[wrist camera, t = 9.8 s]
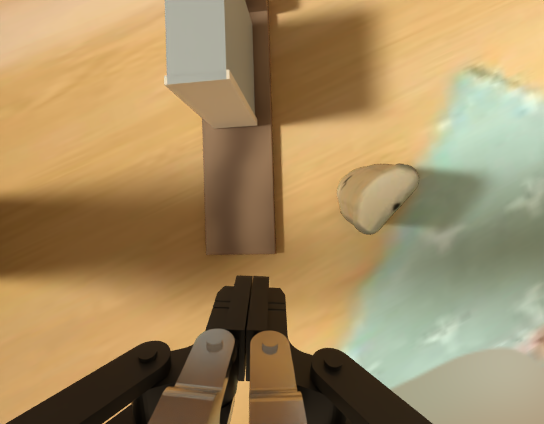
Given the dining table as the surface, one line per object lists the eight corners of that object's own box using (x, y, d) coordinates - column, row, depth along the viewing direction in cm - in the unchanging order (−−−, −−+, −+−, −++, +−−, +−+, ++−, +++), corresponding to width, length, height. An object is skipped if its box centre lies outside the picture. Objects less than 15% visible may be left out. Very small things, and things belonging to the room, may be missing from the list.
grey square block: (214, 128, 29) (164, 84, 19) (211, 28, 29) (160, -67, 19) (257, 125, 28) (229, 78, 18) (254, 23, 28) (224, -78, 19)
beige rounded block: (385, 232, 28) (415, 240, 20) (330, 226, 29) (338, 231, 21) (392, 173, 28) (424, 157, 20) (337, 168, 29) (347, 151, 21)
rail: (209, 253, 30) (198, 258, 27) (201, 8, 30) (190, -14, 27) (275, 252, 29) (272, 257, 26) (268, 0, 29) (263, -24, 26)
